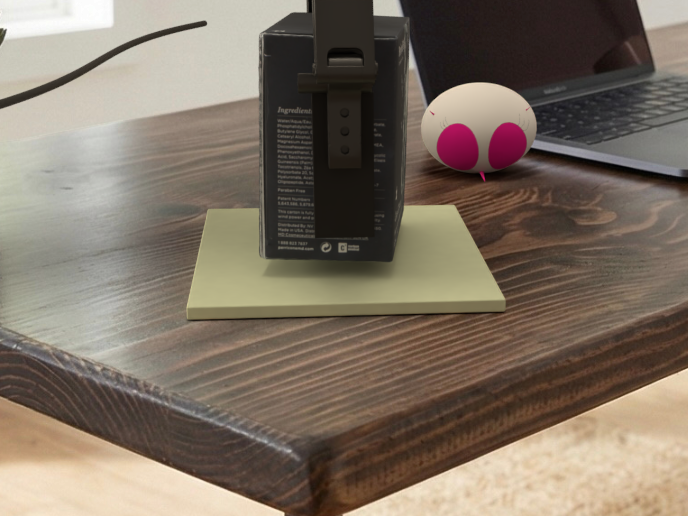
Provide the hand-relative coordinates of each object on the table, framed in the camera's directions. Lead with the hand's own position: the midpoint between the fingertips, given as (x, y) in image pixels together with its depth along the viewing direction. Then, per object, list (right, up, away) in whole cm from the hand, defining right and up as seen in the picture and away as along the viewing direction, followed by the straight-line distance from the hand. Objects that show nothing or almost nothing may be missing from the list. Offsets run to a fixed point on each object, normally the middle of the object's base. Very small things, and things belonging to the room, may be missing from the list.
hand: (339, 206), depth 65 cm
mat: (0, -3, +1) cm, 3 cm away
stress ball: (+8, +4, +21) cm, 23 cm away
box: (0, -2, +1) cm, 2 cm away
